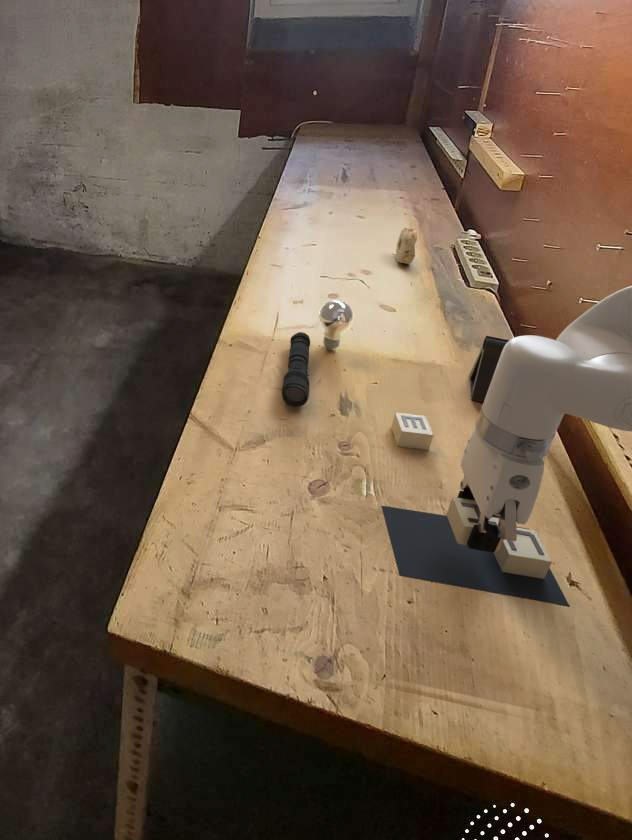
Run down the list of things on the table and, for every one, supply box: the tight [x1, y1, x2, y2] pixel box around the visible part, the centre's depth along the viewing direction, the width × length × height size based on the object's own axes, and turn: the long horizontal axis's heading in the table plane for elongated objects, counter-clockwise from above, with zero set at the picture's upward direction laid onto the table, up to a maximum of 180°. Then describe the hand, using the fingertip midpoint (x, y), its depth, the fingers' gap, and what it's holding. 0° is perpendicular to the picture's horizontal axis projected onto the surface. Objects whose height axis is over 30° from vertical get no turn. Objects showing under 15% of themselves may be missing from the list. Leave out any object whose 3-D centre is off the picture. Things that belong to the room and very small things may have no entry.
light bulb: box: [318, 299, 355, 351], centre depth 123 cm, size 7×7×12 cm
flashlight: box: [281, 331, 311, 407], centre depth 116 cm, size 5×21×5 cm, turn 159°
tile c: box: [494, 526, 553, 579], centre depth 77 cm, size 5×5×4 cm
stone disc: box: [395, 227, 418, 265], centre depth 162 cm, size 10×4×10 cm, turn 161°
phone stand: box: [469, 335, 510, 404], centre depth 108 cm, size 9×6×12 cm, turn 150°
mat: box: [380, 505, 570, 608], centre depth 79 cm, size 20×12×1 cm, turn 76°
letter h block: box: [446, 496, 504, 551], centre depth 77 cm, size 5×5×4 cm
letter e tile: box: [390, 412, 434, 451], centre depth 99 cm, size 5×5×4 cm
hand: (472, 529), depth 78 cm, fingers closed on letter h block, 5 cm apart
